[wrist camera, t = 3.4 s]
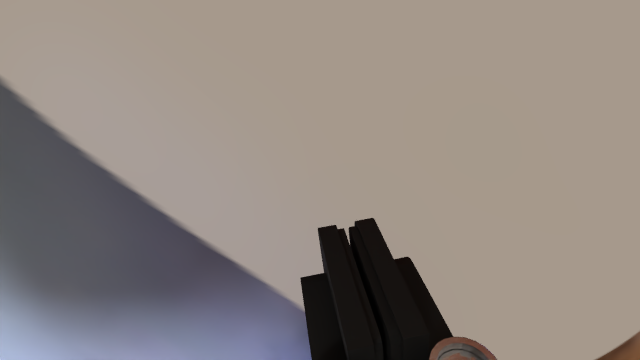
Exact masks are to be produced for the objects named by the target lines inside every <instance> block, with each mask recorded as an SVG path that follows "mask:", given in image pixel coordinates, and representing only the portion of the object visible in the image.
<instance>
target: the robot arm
mask: <svg viewBox="0 0 640 360" xmlns="http://www.w3.org/2000/svg"><path fill="white" fill-rule="evenodd" d="M318 234H319V240H320V247H321V254H322V261H323V267H324V273H322V274H317V275H312V276H307V277H302V278H301V285H302V293H303V300H304V307H305V314H306V321H307V328H308V336H309V343H310V350H311V357H312V360H497V359H496V357H495V356H494V355H493V354H492V353H491V352H490V351H489V350H488V349H487V348H486V347H484V346H483V345H481V344H479V343H478V342H476V341H473V340H471V339H468V338H464V337H453V336H452V333H451V332H450V330H449V328H448V326H447V324H446V323H445V321H444V319H443V317H442V315H441V313H440V312H439V310H438V308H437V306H436V304H435V302H434V301H433V299H432V297H431V295H430V293H429V291H428V289H427V288H426V286H425V284H424V282H423V280H422V278H421V277H420V275H419V273H418V271H417V269H416V268H415V266H414V264H413V262H412V261H411V259H410V258H409V257H404V258H399V259H393V257H392V255H391V253H390V251H389V249H388V247H387V244H386V242H385V241H384V238H383V236H382V234H381V232H380V230H379V228H378V226H377V224H376V222H375V220H374V219H373V218H370V219H364V220H359V221H355V226H354V227H349V237H350V245H349V242H348V239H347V236H346V233H345V230H344V228H343V229H337V227H336V225H333V226H327V227H321V228H318Z"/></svg>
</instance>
